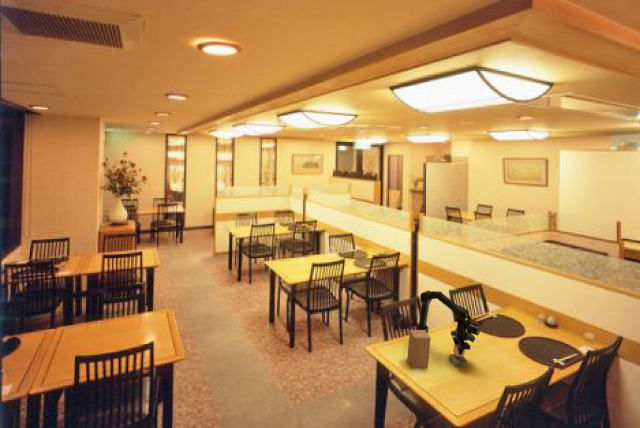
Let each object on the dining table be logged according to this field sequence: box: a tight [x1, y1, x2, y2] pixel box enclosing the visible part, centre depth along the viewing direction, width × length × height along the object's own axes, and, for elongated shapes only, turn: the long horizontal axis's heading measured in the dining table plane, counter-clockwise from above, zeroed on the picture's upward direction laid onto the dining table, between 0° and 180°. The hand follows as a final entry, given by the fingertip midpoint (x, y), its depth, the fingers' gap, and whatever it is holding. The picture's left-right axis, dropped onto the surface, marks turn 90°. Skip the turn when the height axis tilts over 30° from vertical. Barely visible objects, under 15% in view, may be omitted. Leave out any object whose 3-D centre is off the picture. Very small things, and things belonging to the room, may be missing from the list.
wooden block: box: [406, 329, 432, 369], centre depth 223 cm, size 10×10×20 cm
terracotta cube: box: [453, 343, 466, 357], centre depth 226 cm, size 5×5×5 cm
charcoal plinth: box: [448, 353, 468, 368], centre depth 227 cm, size 8×8×4 cm
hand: (458, 352), depth 226 cm, fingers closed on terracotta cube, 5 cm apart
